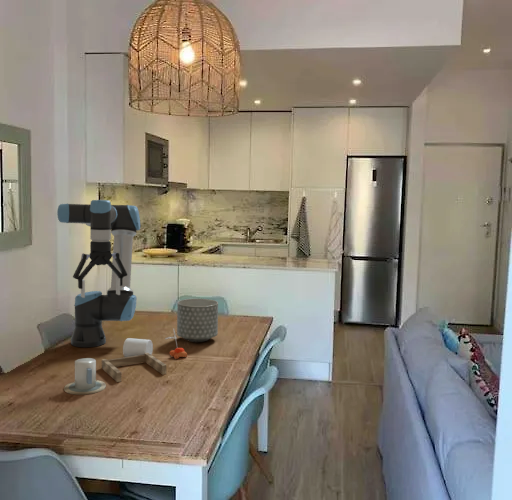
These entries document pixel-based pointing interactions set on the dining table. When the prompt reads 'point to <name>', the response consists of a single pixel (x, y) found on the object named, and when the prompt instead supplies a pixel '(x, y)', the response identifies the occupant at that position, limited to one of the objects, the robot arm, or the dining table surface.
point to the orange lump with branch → (177, 350)
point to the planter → (197, 319)
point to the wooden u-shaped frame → (111, 364)
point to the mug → (137, 347)
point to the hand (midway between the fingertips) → (100, 295)
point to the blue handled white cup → (85, 373)
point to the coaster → (72, 390)
